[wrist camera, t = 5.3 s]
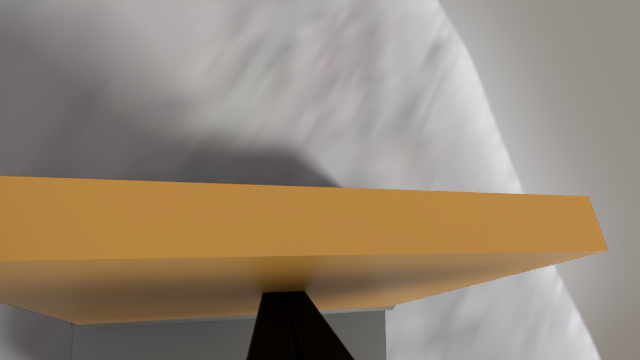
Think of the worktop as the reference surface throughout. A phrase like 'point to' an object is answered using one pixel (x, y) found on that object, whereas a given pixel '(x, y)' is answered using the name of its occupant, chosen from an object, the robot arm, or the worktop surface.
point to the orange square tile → (264, 246)
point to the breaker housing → (217, 339)
